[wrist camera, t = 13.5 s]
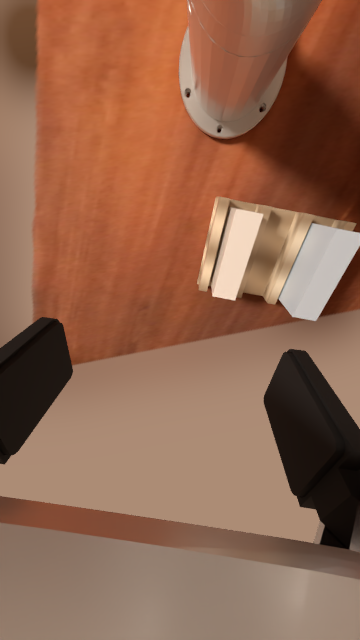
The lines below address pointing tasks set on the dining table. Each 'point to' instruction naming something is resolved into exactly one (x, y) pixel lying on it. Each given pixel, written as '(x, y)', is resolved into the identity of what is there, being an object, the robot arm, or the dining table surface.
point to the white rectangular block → (318, 269)
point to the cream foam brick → (234, 251)
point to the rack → (263, 246)
